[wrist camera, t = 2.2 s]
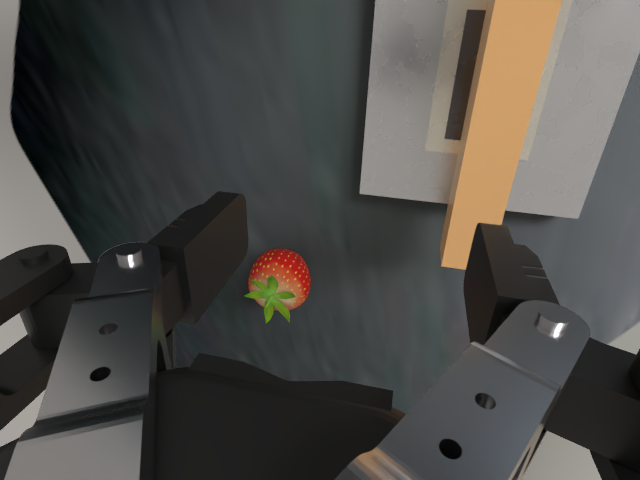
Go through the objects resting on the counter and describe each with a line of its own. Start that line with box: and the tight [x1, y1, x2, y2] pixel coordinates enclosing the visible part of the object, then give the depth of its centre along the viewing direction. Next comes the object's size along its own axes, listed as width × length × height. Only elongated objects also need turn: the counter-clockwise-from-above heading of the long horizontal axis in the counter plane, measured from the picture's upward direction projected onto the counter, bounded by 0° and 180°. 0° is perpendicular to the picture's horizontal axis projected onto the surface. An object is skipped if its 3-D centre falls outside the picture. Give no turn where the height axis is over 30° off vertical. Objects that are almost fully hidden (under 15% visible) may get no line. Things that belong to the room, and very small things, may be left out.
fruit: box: [245, 248, 311, 324], centre depth 36 cm, size 5×5×8 cm
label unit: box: [360, 0, 640, 219], centre depth 28 cm, size 18×16×2 cm
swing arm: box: [440, 0, 562, 270], centre depth 22 cm, size 28×4×3 cm, turn 178°
